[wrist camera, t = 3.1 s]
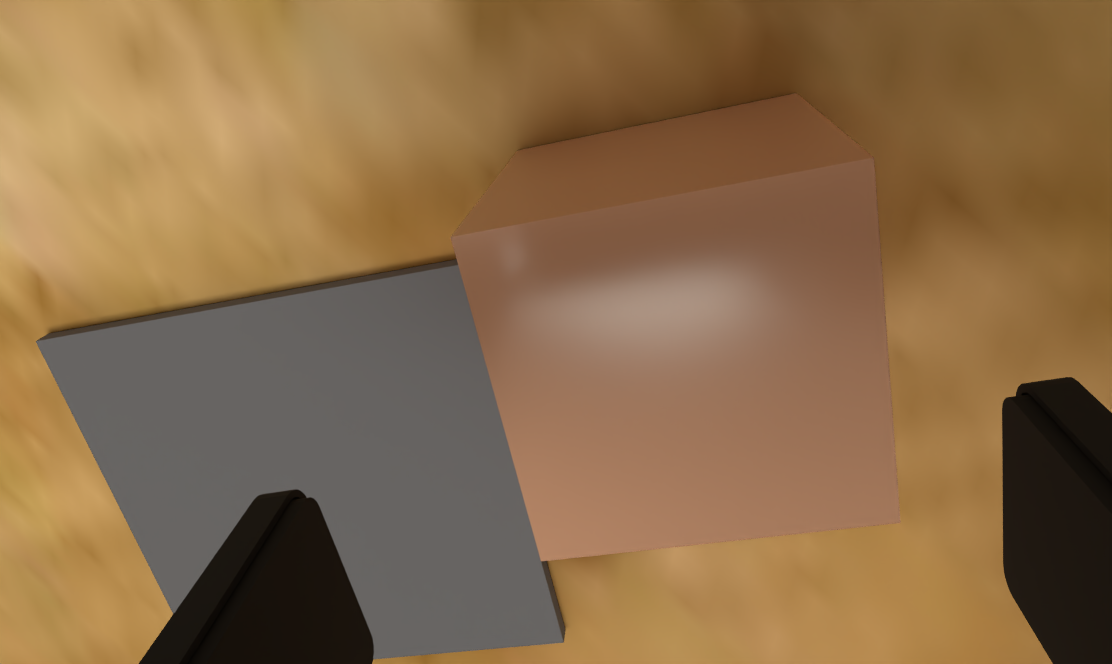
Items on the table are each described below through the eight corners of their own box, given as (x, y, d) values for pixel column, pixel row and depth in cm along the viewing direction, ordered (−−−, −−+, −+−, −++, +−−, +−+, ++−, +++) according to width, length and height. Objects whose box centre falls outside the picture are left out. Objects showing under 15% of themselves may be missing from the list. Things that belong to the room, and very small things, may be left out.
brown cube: (797, 92, 21) (873, 157, 13) (824, 352, 23) (899, 522, 16) (517, 150, 22) (450, 237, 15) (574, 389, 25) (541, 561, 18)
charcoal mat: (462, 258, 24) (458, 265, 23) (565, 629, 29) (563, 642, 28) (48, 333, 26) (35, 341, 26) (211, 662, 31) (203, 674, 31)
